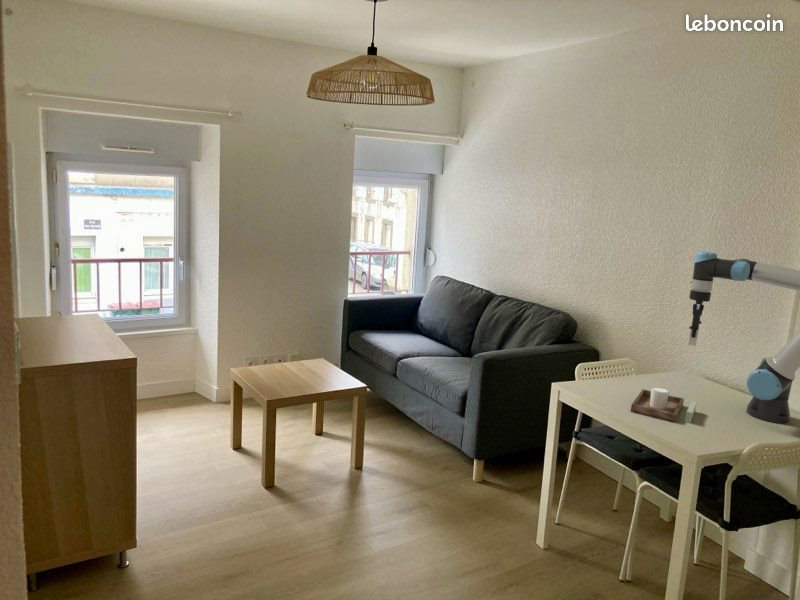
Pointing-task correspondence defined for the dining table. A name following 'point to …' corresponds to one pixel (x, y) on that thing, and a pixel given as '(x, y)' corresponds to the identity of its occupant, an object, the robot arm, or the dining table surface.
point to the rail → (690, 411)
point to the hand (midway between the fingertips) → (692, 342)
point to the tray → (668, 414)
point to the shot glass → (659, 397)
